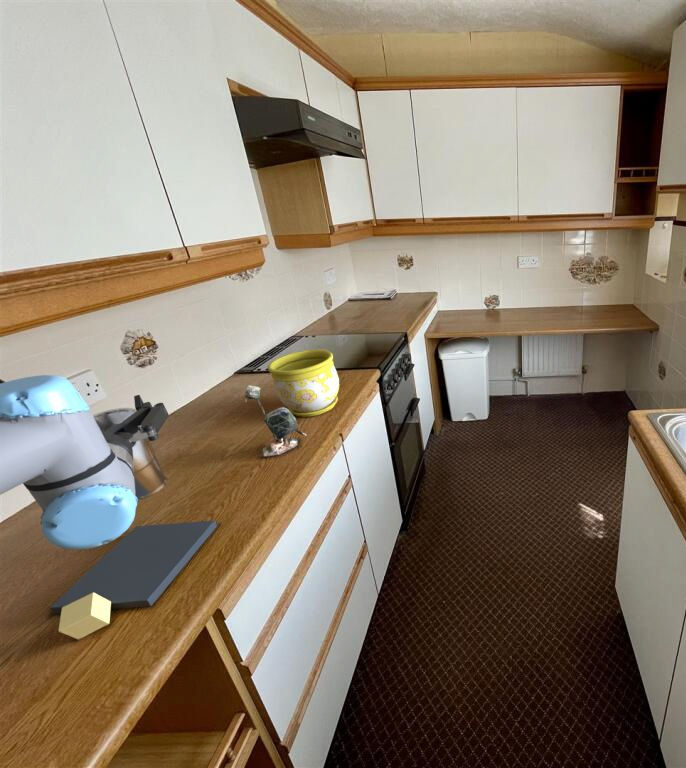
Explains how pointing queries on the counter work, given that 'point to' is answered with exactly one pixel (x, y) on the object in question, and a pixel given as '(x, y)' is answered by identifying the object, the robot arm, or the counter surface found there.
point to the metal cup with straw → (136, 454)
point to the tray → (140, 565)
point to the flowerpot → (306, 382)
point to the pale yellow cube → (85, 616)
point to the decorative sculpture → (276, 426)
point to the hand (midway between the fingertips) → (100, 412)
